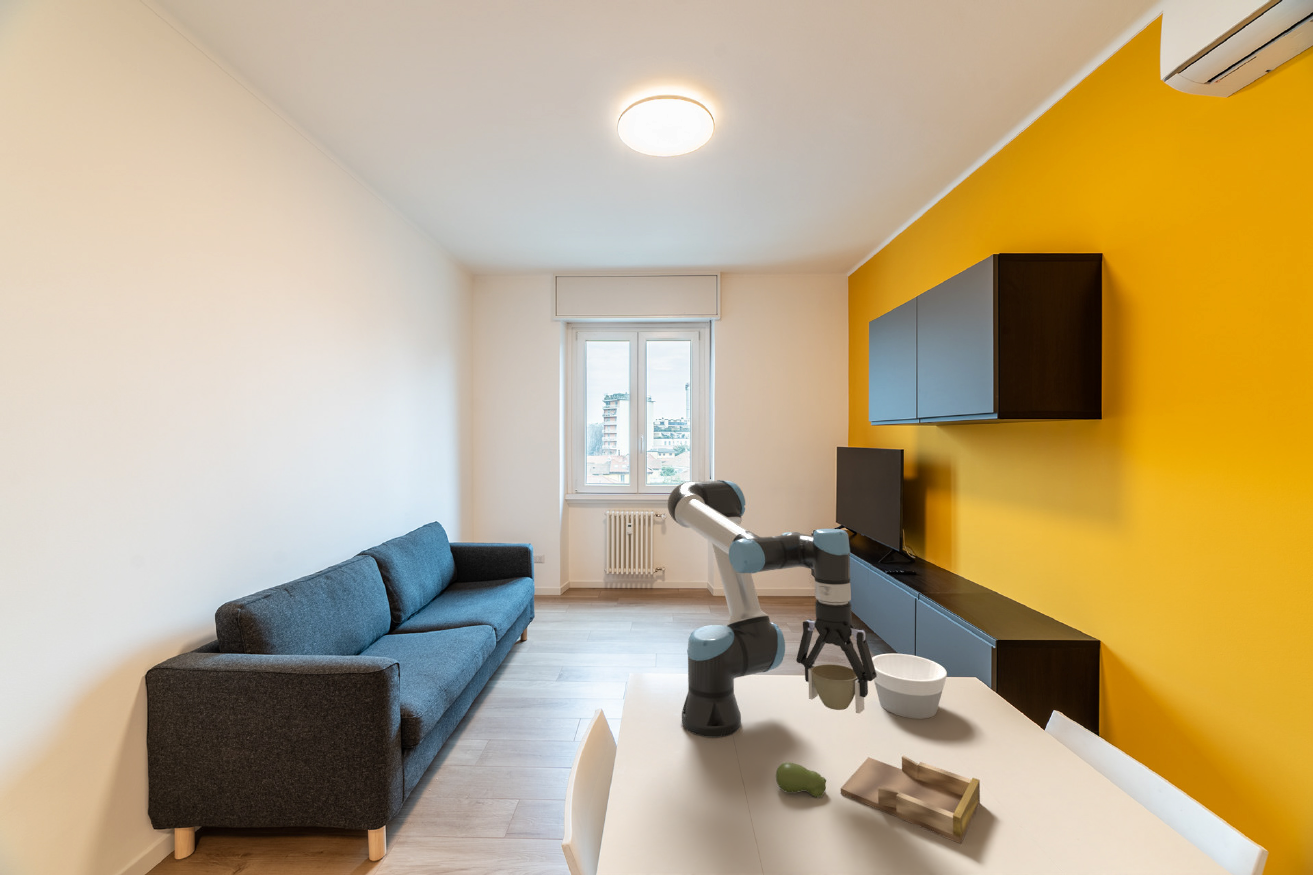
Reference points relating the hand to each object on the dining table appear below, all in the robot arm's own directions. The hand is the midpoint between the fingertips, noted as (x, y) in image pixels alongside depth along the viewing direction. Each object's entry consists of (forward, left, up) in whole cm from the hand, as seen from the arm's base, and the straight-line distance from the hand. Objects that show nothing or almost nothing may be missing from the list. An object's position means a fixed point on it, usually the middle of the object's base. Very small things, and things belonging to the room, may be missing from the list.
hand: (836, 703), depth 122 cm
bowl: (+2, +41, -15) cm, 44 cm away
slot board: (+15, 0, -14) cm, 21 cm away
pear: (-3, -11, -15) cm, 19 cm away
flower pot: (0, 0, -1) cm, 1 cm away
